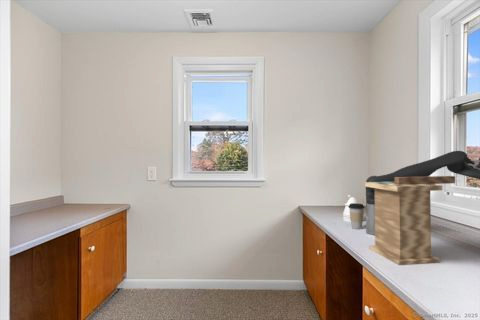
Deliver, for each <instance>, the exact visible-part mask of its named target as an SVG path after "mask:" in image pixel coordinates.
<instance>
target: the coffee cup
mask: <svg viewBox="0 0 480 320" xmlns="http://www.w3.org/2000/svg"><path fill="white" fill-rule="evenodd" d="M349 209H350V220H351V223H350V224H351V228H352V229H353V230H362V229H363V222H364V209H365V205H364V204H362V203H359V202H358V203H351V204H350V205H349ZM362 221H363V222H362Z"/></svg>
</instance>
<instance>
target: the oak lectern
mask: <svg viewBox="0 0 480 320" xmlns="http://www.w3.org/2000/svg"><path fill="white" fill-rule="evenodd" d="M364 186H365V188H366V187H372V188H374V190H375V235H374V245H368V250H371V252H374V253H376V254H378V255H379V256H382V257H383V258H385V259H387V260H389V261H391V262H392V263H394V264H397V265H398V266H403V265H420V264H421V265H422V264H436V263H437V264H438V263H440V258H438V257H435V256H434V255H432V230H431V229H432V226H431V221H432V217H431V215H432V214H431V210H432V209H431V191H435V192H436V191H443V184H409V185H397V184H395V182H366V181H365V182H364Z"/></svg>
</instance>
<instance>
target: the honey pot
mask: <svg viewBox="0 0 480 320" xmlns="http://www.w3.org/2000/svg"><path fill="white" fill-rule="evenodd" d="M347 198H349V199H348V200H347V202H346V203H344V205H345V207H344V210H343V212H342V221H343V220H344V221H343V222H345V221H346V222H345V223H350V222H351V220H350V209H349V205H350V204H351V203H358V204H359V202H358V200H357V198H356V197H354V196H352V194H348V195H347ZM363 222H364V220H363V221H362V223H363Z"/></svg>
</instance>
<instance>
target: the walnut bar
mask: <svg viewBox="0 0 480 320" xmlns="http://www.w3.org/2000/svg"><path fill="white" fill-rule="evenodd" d="M394 179H395V184H397V185H409V184H436V185H443V184H444V185H445V184H447V185H449V184H456V176H455V175H436V176H435V175H434V176H433V175H432V176H431V175H430V176H427V177H394Z"/></svg>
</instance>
